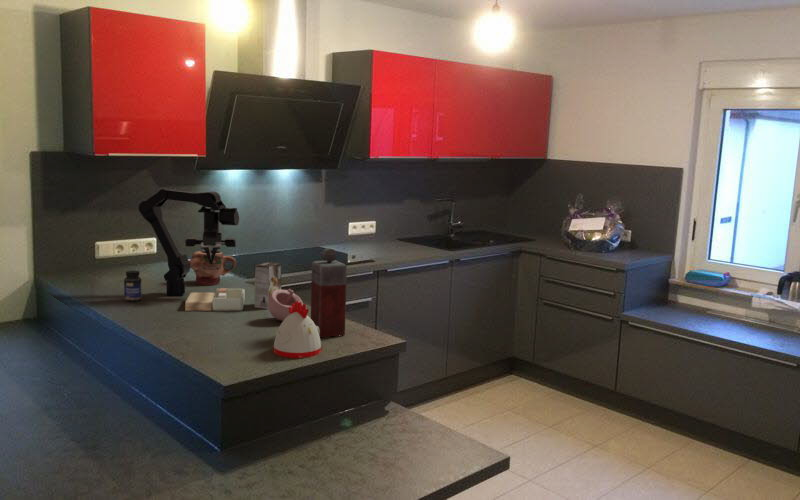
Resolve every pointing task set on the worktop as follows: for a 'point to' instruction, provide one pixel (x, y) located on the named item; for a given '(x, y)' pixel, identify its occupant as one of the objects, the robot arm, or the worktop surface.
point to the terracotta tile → (222, 290)
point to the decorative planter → (209, 267)
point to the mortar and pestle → (282, 303)
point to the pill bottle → (132, 286)
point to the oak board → (199, 301)
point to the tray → (229, 300)
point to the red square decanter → (329, 294)
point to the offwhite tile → (222, 295)
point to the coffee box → (266, 282)
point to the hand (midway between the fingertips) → (211, 264)
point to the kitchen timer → (297, 334)
